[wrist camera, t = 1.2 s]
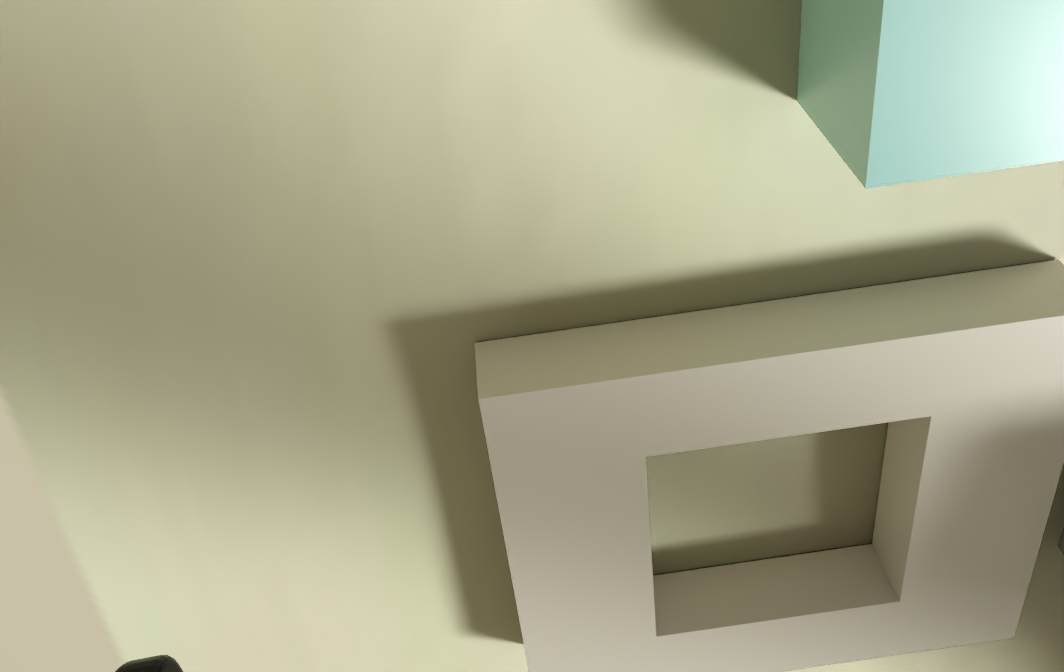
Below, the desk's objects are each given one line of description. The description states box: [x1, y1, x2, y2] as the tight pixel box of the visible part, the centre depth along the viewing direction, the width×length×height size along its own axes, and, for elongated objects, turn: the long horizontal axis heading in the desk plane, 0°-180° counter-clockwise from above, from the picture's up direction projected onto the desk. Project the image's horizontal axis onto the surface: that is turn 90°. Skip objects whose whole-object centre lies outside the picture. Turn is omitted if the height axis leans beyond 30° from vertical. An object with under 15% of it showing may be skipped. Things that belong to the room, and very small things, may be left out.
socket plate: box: [474, 260, 1064, 672], centre depth 22 cm, size 12×10×2 cm
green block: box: [797, 0, 1064, 188], centre depth 15 cm, size 6×4×4 cm, turn 96°
